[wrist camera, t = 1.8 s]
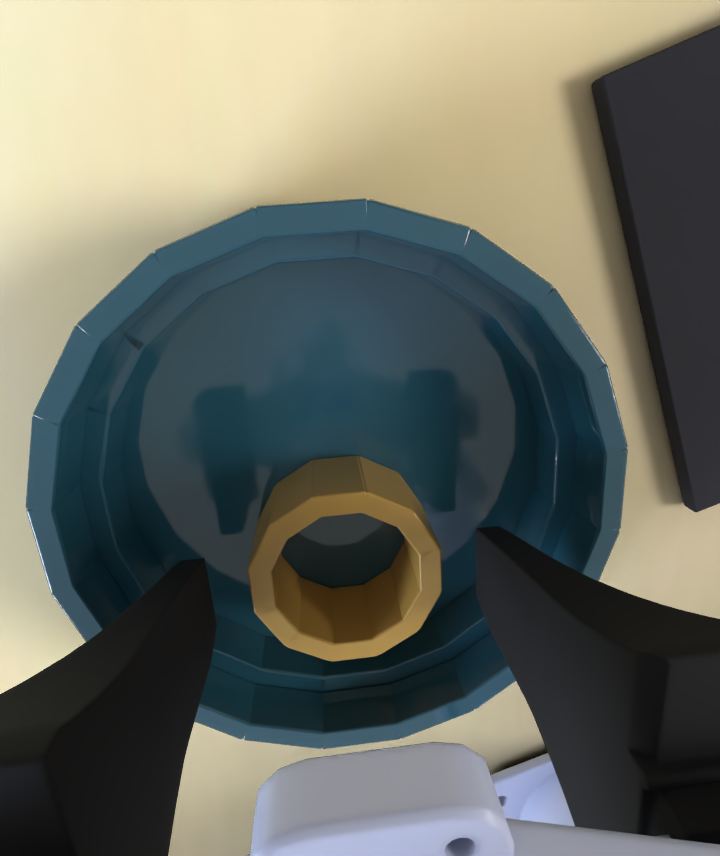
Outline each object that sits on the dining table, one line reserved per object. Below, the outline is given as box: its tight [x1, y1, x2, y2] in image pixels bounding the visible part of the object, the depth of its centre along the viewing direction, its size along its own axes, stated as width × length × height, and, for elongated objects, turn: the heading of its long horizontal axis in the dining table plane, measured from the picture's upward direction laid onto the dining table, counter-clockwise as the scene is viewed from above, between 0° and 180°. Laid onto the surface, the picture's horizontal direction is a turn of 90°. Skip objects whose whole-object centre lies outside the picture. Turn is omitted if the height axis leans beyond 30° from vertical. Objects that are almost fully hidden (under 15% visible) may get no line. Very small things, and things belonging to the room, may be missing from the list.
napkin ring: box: [247, 456, 442, 662], centre depth 15 cm, size 5×5×3 cm
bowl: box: [26, 199, 628, 749], centre depth 14 cm, size 14×14×4 cm
